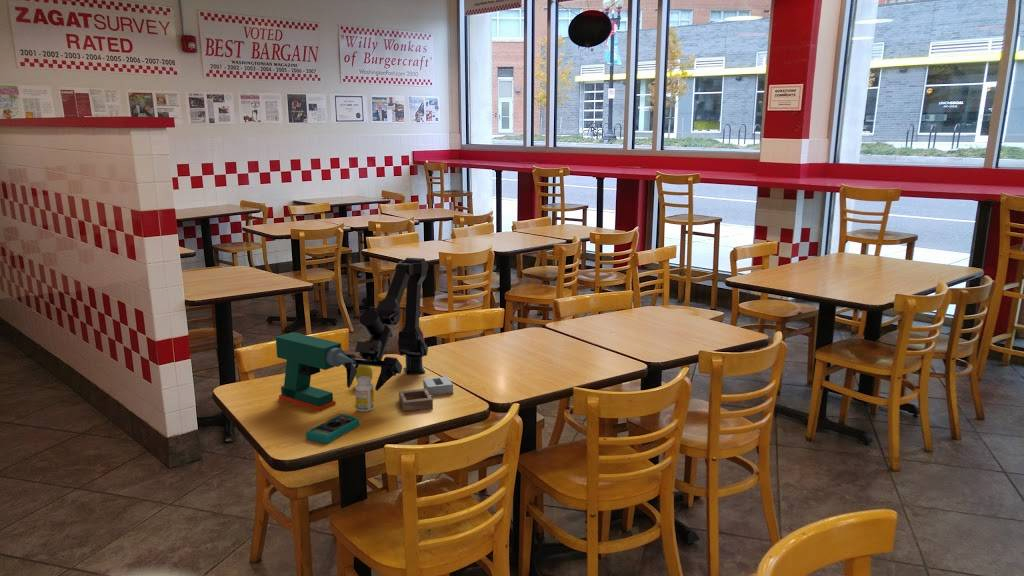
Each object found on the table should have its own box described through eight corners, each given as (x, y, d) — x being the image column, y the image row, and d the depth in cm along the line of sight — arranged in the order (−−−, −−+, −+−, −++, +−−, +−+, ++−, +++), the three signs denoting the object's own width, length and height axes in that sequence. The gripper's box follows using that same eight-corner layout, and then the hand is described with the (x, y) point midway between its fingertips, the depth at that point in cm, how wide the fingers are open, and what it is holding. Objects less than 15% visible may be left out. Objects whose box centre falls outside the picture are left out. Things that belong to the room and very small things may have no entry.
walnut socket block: (399, 400, 222) (398, 391, 221) (426, 397, 224) (426, 388, 224) (404, 412, 212) (404, 402, 212) (432, 409, 215) (432, 399, 214)
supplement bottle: (361, 413, 212) (359, 382, 210) (352, 408, 216) (351, 377, 214) (377, 409, 215) (376, 378, 213) (369, 404, 219) (367, 374, 217)
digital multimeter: (361, 426, 204) (361, 416, 203) (326, 446, 191) (325, 435, 190) (341, 421, 207) (340, 412, 206) (305, 440, 194) (304, 430, 193)
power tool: (368, 413, 212) (365, 348, 208) (351, 421, 206) (347, 354, 202) (297, 391, 229) (293, 331, 225) (279, 398, 224) (274, 336, 220)
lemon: (365, 389, 231) (364, 365, 230) (352, 386, 234) (351, 363, 232) (376, 384, 236) (375, 361, 234) (363, 381, 239) (362, 358, 237)
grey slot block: (423, 387, 233) (423, 378, 232) (447, 385, 235) (447, 376, 235) (428, 396, 225) (428, 387, 225) (453, 393, 228) (453, 384, 227)
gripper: (340, 327, 217) (322, 373, 209) (396, 331, 212) (381, 379, 204) (354, 345, 226) (338, 390, 218) (408, 350, 221) (394, 396, 213)
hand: (362, 388), depth 213 cm, fingers open, 9 cm apart
